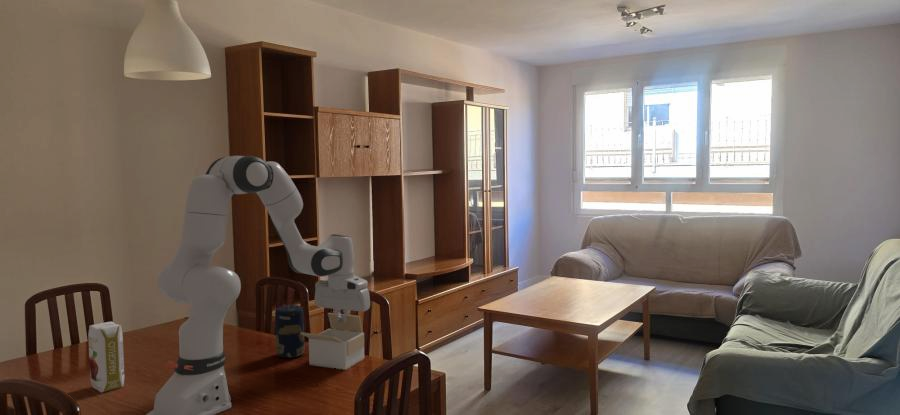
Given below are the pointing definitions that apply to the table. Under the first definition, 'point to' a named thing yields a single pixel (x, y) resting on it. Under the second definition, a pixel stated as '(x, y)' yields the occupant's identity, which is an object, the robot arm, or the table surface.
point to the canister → (289, 331)
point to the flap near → (321, 337)
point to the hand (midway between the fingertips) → (342, 321)
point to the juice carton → (106, 356)
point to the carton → (337, 349)
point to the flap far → (351, 324)
